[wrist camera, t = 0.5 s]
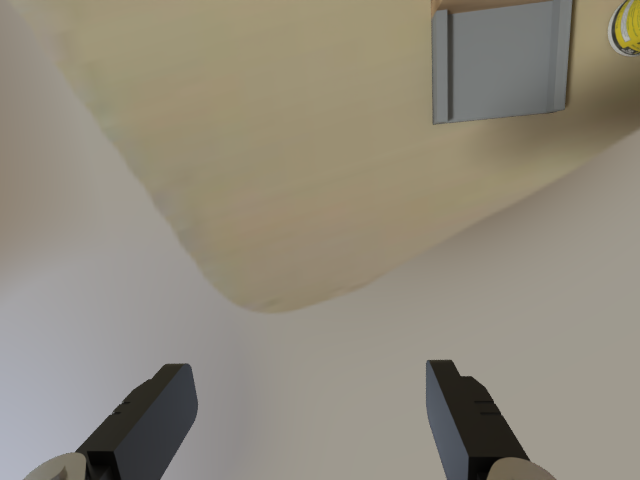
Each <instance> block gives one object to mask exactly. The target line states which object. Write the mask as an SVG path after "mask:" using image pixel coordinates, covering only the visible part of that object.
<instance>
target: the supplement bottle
mask: <svg viewBox="0 0 640 480" xmlns="http://www.w3.org/2000/svg"><path fill="white" fill-rule="evenodd" d="M608 39H609V42H610V44H611V46H612V48H613V49H614V50H615V51H616V52H617V53H619V54H621V55H624V56H639V55H640V0H625V1H624V2H623V3H622V4H621V5H620V6H619V7H618V8H617V9H616V10H615V12H614V13H613V15H612V17H611V19H610V22H609V26H608Z"/></svg>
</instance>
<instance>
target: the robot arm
mask: <svg viewBox="0 0 640 480" xmlns="http://www.w3.org/2000/svg"><path fill="white" fill-rule="evenodd" d="M426 407H427V414H428V419H429V423H430V427H431V430H432V433H433V436H434V439H435V443H436V446H437V449H438V452H439V455H440V458H441V462H442V465H443V468H444V471H445V474H446V477H447V480H556V479H555V478H554V477H553V476H552V475H551V474H550V473H549V472H547V471H546V470H545V469H543V468H542V467H540V466H538V465H536V464H535V463H532V462H531V461H530V459H529V458H528V456H527V455H526V453H525V451H524V450H523V448H522V446H521V445H520V443H519V442H518V440H517V438H516V437H515V435H514V433H513V432H512V430H511V428H510V427H509V425H508V424H507V422H506V420H505V419H504V417H503V416H501V412H500V411H499V409H498V407H497V406H496V404H494V401H493V399H492V398H491V396H490V394H489V393H488V391H487V389H486V388H485V387H484V386H483V385H482V384H480V383H479V382H478V381H476V380H475V379H474V378H473V377H471V376H467V377H465V376H460V374H459V372H458V371H457V369H456V367H455V365H454V363H453V362H452V360H427V363H426ZM197 410H198V401H197V395H196V390H195V385H194V379H193V374H192V369H191V366H190V365H189V364H165V365H164V366H163V367H162V368H161V369H160V370H159V371H158V372H157V373H156V374H155V376H154V377H153V378H152V379H149V380H147V381H146V382H144V383H143V384H141V385H140V386H138V387H137V388H135V389H134V390H133V391H132V392H131V393H130V394H129V395H128V396H127V397H126V398H125V399H124V400H123V401H122V404H119V406H118V407H117V408H116V409H115V410H114V411H113V412H112V415H109V416H108V417H107V418H106V419H105V421H104V422H103V423H102V424H101V425H100V426H99V427H98V428H97V429H96V430H95V431H94V432H93V433H92V434H91V435H90V437H89V438H88V439H87V440H86V441H85V442H84V443H83V444H82V445H81V446H80V447H79V448H78V449H77V450H76V451H75V452H74V453H66V454H63V455H60V456H57V457H55V458H52V459H50V460H48V461H46V462H45V463H43V464H41V465H40V466H38V467H37V468H36V469H34V470H33V471H32V472H30V473H29V474H28V475H27V476H26V477H25V478H24V479H23V480H160V479H161V477H162V475H163V474H164V472H165V470H166V469H167V467H168V465H169V464H170V462H171V460H172V458H173V457H174V455H175V453H176V452H177V450H178V448H179V447H180V445H181V443H182V442H183V440H184V438H185V436H186V435H187V433H188V431H189V430H190V428H191V426H192V424H193V423H194V421H195V418H196V415H197Z"/></svg>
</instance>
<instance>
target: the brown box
mask: <svg viewBox="0 0 640 480" xmlns="http://www.w3.org/2000/svg"><path fill="white" fill-rule="evenodd" d="M546 1H553V0H431V19H432V17H433V16H434V14H435V12H436V11H439V10H446V9H447V15H448V14H456V13H463V12H471V11H478V10H486V9H493V8H501V7H508V6H516V5H523V4H531V3H538V2H546Z"/></svg>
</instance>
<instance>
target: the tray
mask: <svg viewBox="0 0 640 480" xmlns="http://www.w3.org/2000/svg"><path fill="white" fill-rule="evenodd" d="M571 10H572V0H553V1H546V2H538V3H531V4H523V5H516V6H508V7H501V8H493V9H486V10H478V11H471V12H463V13H456V14H448V15H447V9H446V10H439V11H436V12H435V14H434V16H433V17H432V97H433V125H434V124H444V123H454V122H464V121H474V120H484V119H493V118H503V117H513V116H523V115H533V114H543V113H553V112H557V111H561V110H565V96H566V81H567V67H568V53H569V39H570V25H571Z"/></svg>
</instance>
